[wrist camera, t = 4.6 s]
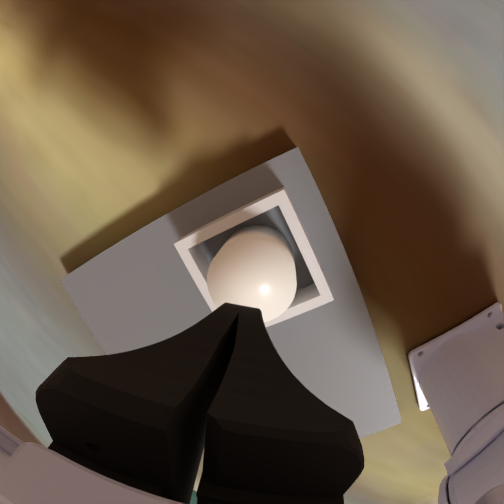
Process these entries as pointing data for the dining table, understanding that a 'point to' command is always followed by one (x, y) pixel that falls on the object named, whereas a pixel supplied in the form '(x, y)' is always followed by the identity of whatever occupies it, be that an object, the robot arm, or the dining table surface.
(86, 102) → the dining table surface
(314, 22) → the dining table surface
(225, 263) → the ivory knob
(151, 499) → the robot arm
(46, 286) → the dining table surface
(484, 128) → the dining table surface
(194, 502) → the cupcake
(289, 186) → the panel
